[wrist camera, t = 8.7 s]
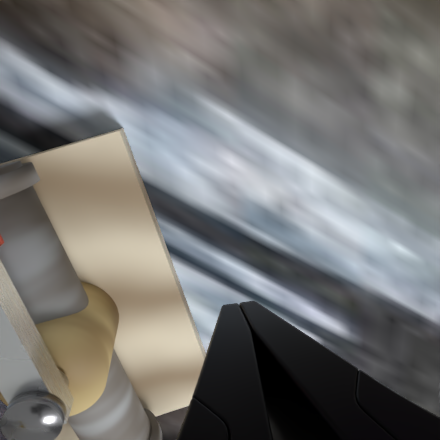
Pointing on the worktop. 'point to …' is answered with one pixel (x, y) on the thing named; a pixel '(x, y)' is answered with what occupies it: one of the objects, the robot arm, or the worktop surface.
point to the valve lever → (28, 373)
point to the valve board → (99, 286)
